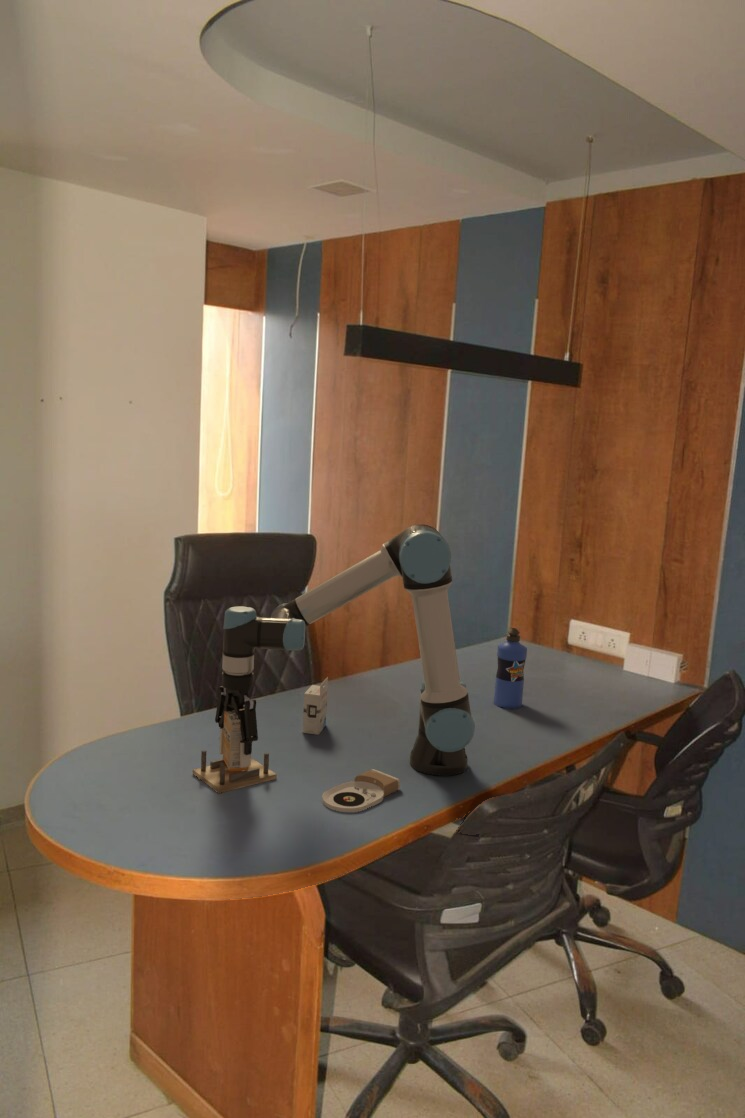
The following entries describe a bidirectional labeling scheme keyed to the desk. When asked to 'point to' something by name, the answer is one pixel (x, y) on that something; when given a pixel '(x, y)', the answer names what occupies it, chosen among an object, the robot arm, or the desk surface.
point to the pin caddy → (233, 774)
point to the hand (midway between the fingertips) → (234, 759)
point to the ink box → (315, 708)
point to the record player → (361, 792)
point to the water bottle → (510, 672)
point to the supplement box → (232, 741)
